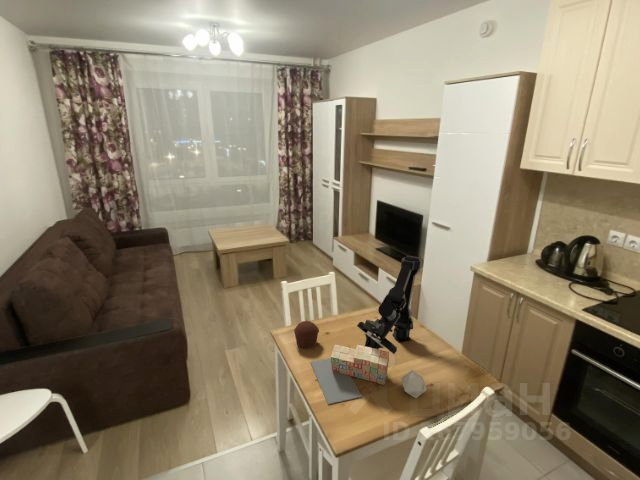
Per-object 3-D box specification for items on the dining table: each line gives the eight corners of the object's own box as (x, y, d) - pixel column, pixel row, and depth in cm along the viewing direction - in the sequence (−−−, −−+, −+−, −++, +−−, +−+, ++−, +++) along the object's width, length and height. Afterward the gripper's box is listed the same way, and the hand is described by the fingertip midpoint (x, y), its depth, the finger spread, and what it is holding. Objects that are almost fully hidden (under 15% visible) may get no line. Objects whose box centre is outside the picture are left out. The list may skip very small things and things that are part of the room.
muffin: (294, 336, 160) (293, 317, 157) (317, 335, 161) (317, 316, 158) (294, 351, 149) (294, 331, 146) (319, 350, 150) (320, 330, 147)
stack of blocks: (331, 371, 135) (329, 351, 128) (335, 358, 140) (334, 338, 133) (385, 385, 129) (386, 365, 122) (387, 371, 134) (389, 351, 127)
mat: (339, 357, 145) (339, 356, 145) (362, 397, 123) (362, 396, 123) (310, 362, 141) (310, 361, 141) (328, 404, 119) (328, 403, 119)
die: (404, 403, 121) (423, 390, 117) (392, 379, 127) (410, 366, 122) (417, 400, 127) (435, 388, 122) (405, 378, 132) (423, 365, 127)
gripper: (361, 303, 139) (338, 334, 136) (393, 324, 124) (368, 359, 121) (375, 315, 145) (353, 346, 143) (407, 337, 130) (383, 371, 127)
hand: (363, 354), depth 133 cm, fingers closed
